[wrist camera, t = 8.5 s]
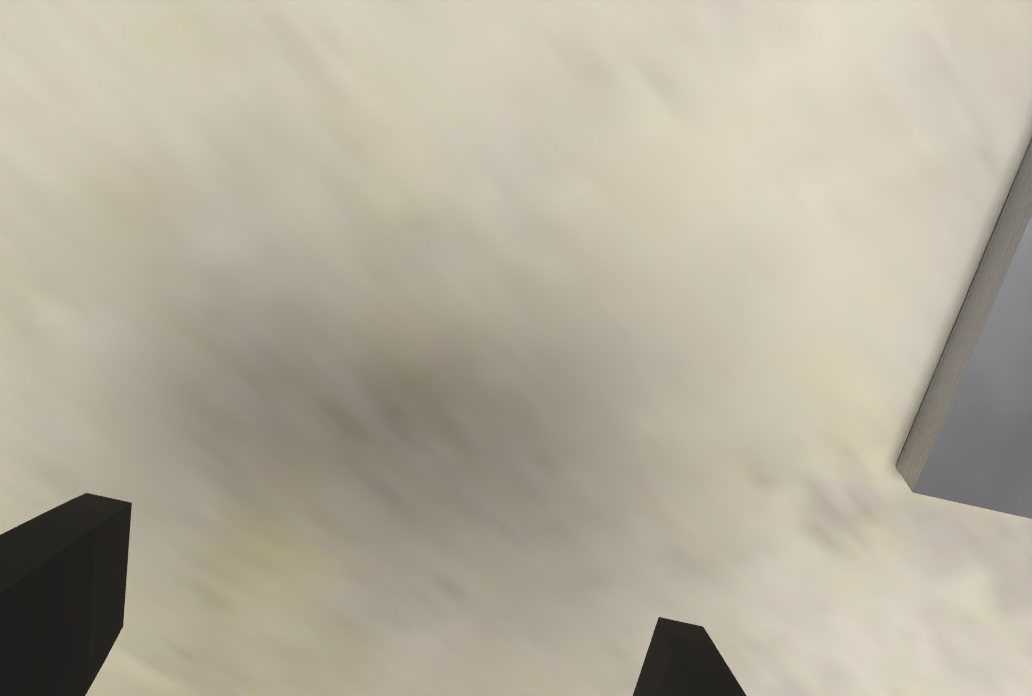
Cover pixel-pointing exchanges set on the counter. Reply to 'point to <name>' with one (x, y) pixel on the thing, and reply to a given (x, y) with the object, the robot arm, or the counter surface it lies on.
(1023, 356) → the carrier
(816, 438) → the counter surface
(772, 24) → the counter surface
